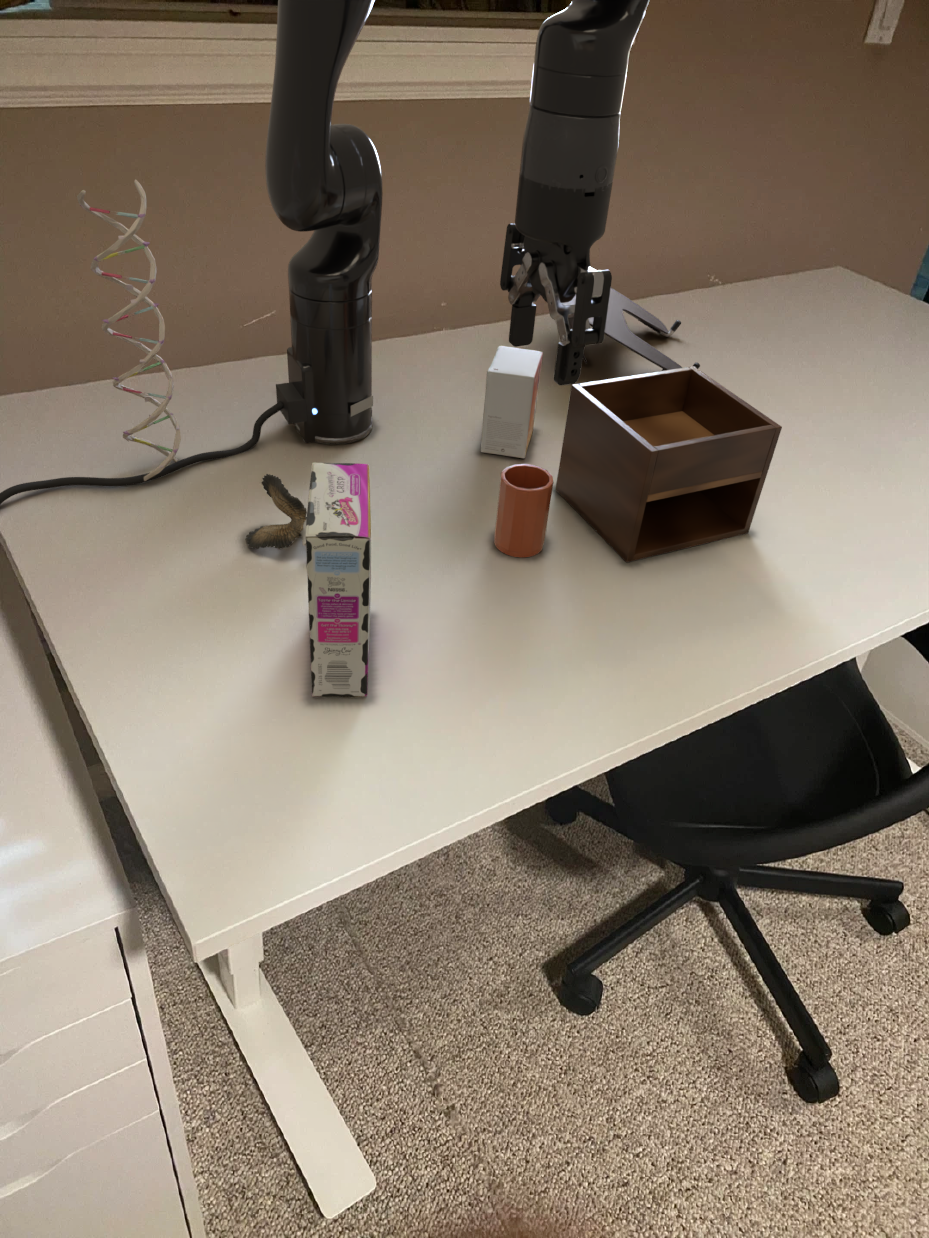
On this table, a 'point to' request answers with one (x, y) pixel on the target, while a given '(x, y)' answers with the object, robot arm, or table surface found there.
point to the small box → (510, 401)
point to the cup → (523, 510)
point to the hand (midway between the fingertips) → (542, 363)
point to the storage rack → (664, 460)
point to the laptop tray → (623, 335)
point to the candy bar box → (339, 578)
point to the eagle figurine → (280, 533)
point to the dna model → (134, 303)
